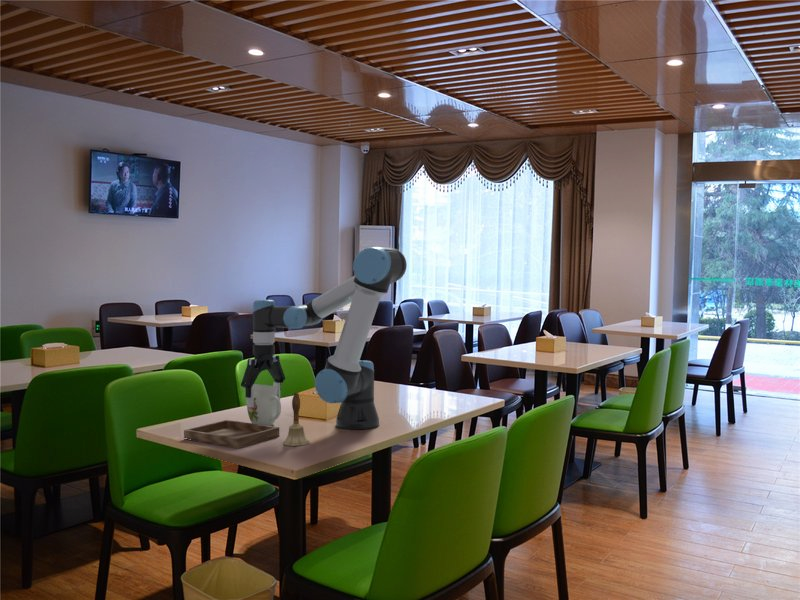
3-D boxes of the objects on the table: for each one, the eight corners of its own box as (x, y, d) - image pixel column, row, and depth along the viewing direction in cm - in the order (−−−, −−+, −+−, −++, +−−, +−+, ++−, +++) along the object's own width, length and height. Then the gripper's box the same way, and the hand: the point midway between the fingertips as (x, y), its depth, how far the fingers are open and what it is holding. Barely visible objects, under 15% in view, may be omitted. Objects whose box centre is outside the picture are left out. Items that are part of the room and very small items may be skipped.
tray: (279, 436, 243) (279, 427, 243) (238, 448, 227) (237, 438, 227) (226, 428, 256) (226, 419, 256) (184, 439, 240) (183, 430, 240)
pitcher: (267, 431, 250) (266, 391, 250) (237, 424, 263) (236, 385, 262) (293, 426, 258) (292, 387, 257) (262, 419, 271) (262, 382, 270)
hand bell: (284, 440, 237) (283, 391, 237) (310, 440, 238) (309, 390, 237) (282, 446, 229) (281, 395, 228) (309, 446, 230) (308, 395, 229)
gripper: (279, 340, 272) (279, 397, 273) (230, 346, 251) (230, 408, 252) (295, 341, 268) (294, 399, 269) (246, 347, 247) (246, 410, 248)
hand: (263, 403), depth 260 cm, fingers open, 13 cm apart
